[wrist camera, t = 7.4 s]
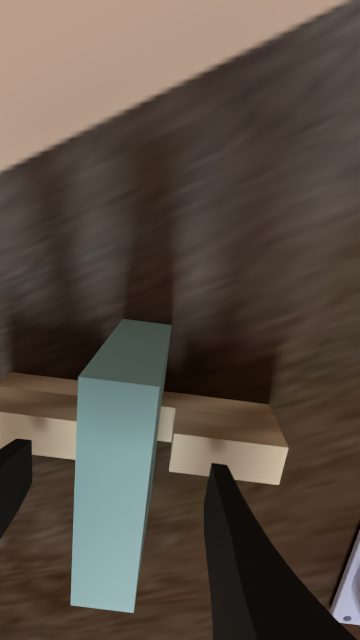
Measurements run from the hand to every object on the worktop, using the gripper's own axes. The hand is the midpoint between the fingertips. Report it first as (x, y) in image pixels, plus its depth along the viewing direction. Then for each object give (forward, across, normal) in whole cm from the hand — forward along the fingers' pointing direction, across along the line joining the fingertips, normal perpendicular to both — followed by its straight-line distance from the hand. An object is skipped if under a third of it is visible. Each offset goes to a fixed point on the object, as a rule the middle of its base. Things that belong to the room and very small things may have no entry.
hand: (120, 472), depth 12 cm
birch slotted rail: (+5, 0, 0) cm, 5 cm away
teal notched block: (+5, 0, 0) cm, 5 cm away
